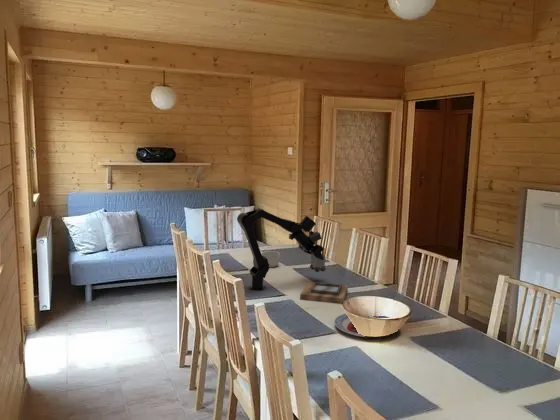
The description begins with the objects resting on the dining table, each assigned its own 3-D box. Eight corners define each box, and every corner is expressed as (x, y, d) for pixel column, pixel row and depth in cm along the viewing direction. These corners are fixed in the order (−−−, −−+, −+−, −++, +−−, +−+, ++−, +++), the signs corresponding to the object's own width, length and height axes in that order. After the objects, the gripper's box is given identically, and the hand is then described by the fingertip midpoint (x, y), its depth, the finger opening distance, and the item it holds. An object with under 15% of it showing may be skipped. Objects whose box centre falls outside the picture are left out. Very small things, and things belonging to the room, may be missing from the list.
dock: (300, 299, 224) (300, 291, 224) (308, 286, 243) (308, 279, 243) (342, 303, 219) (342, 295, 219) (347, 290, 238) (347, 282, 238)
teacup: (280, 264, 286) (280, 251, 285) (278, 269, 276) (278, 255, 274) (257, 263, 288) (257, 250, 286) (254, 267, 277) (255, 254, 276)
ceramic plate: (400, 345, 176) (401, 337, 176) (331, 338, 181) (331, 331, 181) (398, 320, 201) (398, 313, 201) (336, 314, 206) (337, 307, 206)
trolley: (315, 272, 248) (315, 249, 247) (309, 269, 254) (310, 246, 252) (325, 271, 251) (326, 248, 249) (320, 268, 256) (320, 245, 254)
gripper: (321, 230, 239) (339, 250, 245) (304, 224, 256) (321, 243, 262) (306, 247, 237) (325, 266, 243) (290, 239, 254) (308, 258, 260)
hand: (320, 258), depth 252 cm, fingers closed on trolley, 6 cm apart
